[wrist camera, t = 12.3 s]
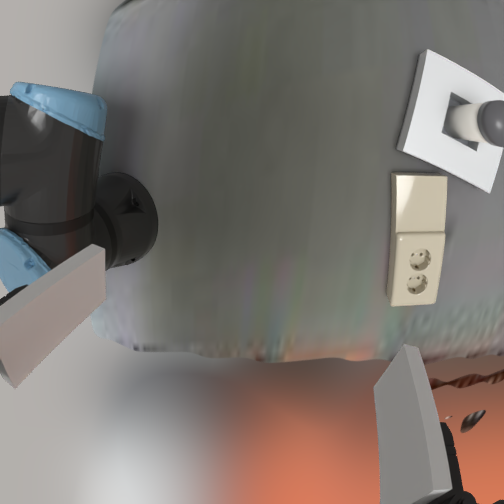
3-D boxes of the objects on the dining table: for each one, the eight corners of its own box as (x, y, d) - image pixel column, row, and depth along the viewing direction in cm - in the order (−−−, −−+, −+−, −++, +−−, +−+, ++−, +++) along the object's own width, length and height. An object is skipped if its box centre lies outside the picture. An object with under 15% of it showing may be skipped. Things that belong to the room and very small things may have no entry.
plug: (437, 131, 31) (482, 134, 20) (445, 98, 29) (491, 91, 18) (466, 145, 30) (514, 156, 19) (474, 114, 28) (523, 114, 17)
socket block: (395, 149, 34) (402, 151, 30) (418, 55, 28) (427, 49, 24) (477, 187, 32) (489, 193, 29) (499, 100, 26) (512, 99, 23)
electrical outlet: (450, 177, 30) (435, 304, 37) (438, 172, 34) (428, 290, 40) (398, 176, 32) (390, 307, 38) (390, 171, 35) (385, 293, 42)
